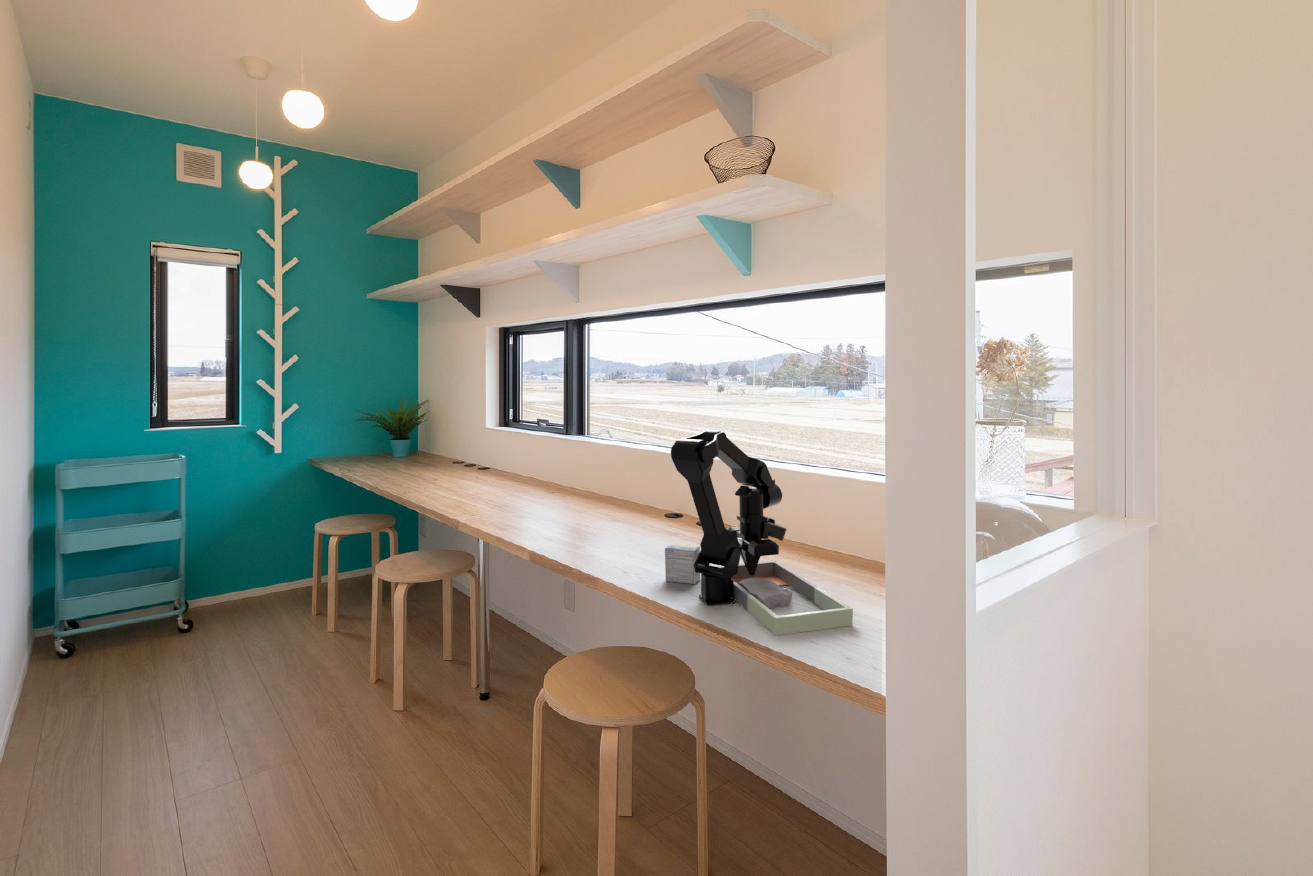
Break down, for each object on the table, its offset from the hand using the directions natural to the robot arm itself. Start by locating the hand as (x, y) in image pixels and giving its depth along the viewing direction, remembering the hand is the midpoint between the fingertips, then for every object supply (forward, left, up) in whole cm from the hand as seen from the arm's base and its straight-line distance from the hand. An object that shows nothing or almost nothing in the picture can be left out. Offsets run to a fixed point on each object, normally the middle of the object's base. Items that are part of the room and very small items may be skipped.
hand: (751, 574), depth 161 cm
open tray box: (0, -13, -2) cm, 14 cm away
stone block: (-2, -12, -2) cm, 12 cm away
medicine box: (-16, +7, -2) cm, 17 cm away
